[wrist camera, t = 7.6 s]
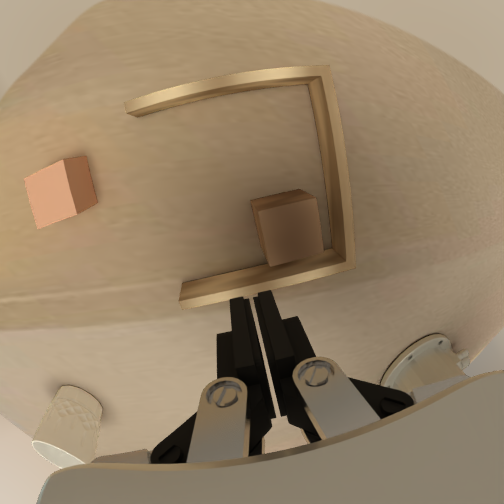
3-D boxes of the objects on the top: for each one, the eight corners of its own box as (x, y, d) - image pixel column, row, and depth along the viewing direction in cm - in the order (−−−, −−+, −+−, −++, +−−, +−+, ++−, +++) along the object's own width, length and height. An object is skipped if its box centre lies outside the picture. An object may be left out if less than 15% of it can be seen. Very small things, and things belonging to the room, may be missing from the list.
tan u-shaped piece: (315, 74, 18) (329, 65, 16) (340, 254, 24) (355, 268, 21) (136, 108, 18) (124, 102, 15) (185, 291, 24) (181, 310, 21)
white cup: (102, 390, 27) (82, 456, 18) (111, 423, 30) (98, 481, 20) (48, 374, 26) (21, 432, 16) (63, 410, 28) (44, 462, 19)
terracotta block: (86, 155, 18) (63, 159, 15) (98, 202, 20) (77, 214, 16) (50, 171, 18) (24, 178, 14) (61, 215, 20) (37, 229, 16)
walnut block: (299, 188, 22) (316, 197, 18) (307, 235, 23) (324, 252, 20) (250, 200, 22) (257, 211, 18) (260, 247, 23) (270, 266, 19)
